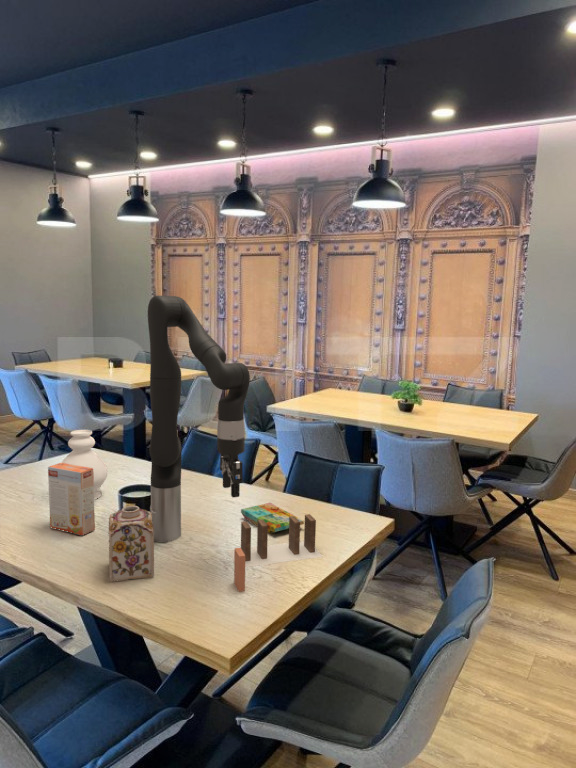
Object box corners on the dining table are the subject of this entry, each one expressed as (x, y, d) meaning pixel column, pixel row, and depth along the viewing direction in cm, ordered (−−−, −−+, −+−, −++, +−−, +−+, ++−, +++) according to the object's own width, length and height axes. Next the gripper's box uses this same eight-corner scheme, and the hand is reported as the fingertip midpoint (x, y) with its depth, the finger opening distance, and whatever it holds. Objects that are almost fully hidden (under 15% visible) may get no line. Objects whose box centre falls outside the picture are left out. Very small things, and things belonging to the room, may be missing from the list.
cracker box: (96, 530, 182) (94, 467, 179) (82, 537, 176) (80, 472, 173) (63, 522, 188) (61, 461, 185) (49, 528, 182) (46, 466, 179)
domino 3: (261, 559, 163) (262, 526, 162) (257, 551, 168) (257, 519, 167) (267, 558, 164) (267, 525, 163) (262, 551, 169) (262, 519, 167)
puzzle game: (269, 500, 201) (303, 518, 185) (268, 512, 201) (303, 531, 186) (241, 506, 194) (274, 526, 178) (240, 519, 194) (274, 540, 179)
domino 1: (238, 593, 145) (239, 556, 143) (234, 583, 150) (234, 548, 148) (244, 592, 145) (245, 555, 144) (239, 583, 150) (240, 547, 149)
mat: (237, 569, 158) (237, 568, 157) (227, 551, 169) (227, 550, 169) (323, 557, 166) (323, 556, 166) (308, 541, 177) (308, 540, 177)
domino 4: (294, 554, 167) (295, 522, 165) (288, 547, 171) (289, 516, 170) (299, 554, 167) (300, 522, 166) (293, 547, 172) (294, 515, 170)
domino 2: (245, 561, 162) (245, 528, 160) (240, 553, 166) (241, 521, 165) (250, 560, 162) (251, 527, 161) (246, 553, 167) (246, 521, 166)
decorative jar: (154, 578, 152) (153, 514, 149) (109, 583, 148) (107, 518, 146) (152, 558, 163) (151, 499, 160) (109, 563, 160) (108, 502, 157)
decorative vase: (46, 500, 207) (44, 434, 203) (80, 486, 223) (78, 424, 220) (86, 508, 201) (84, 439, 197) (117, 493, 217) (116, 429, 213)
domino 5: (309, 552, 168) (310, 520, 167) (303, 545, 173) (304, 514, 172) (314, 552, 169) (315, 520, 168) (308, 545, 174) (309, 514, 172)
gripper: (211, 430, 161) (211, 485, 163) (224, 442, 148) (224, 501, 150) (236, 429, 163) (236, 483, 166) (252, 440, 150) (251, 498, 152)
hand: (230, 492), depth 158 cm, fingers open, 8 cm apart
